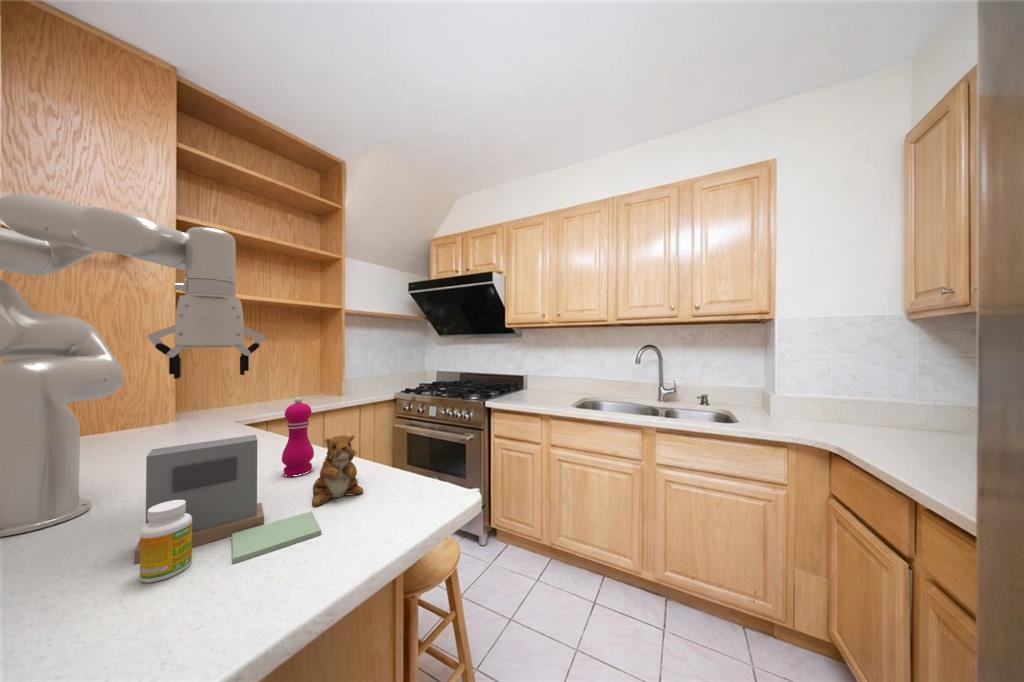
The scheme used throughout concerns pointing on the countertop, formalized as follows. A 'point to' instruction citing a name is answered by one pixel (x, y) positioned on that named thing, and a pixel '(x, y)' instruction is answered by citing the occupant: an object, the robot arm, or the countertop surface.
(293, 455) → the pepper mill
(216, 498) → the panel
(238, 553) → the pad
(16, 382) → the robot arm
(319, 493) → the stuffed squirrel
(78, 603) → the countertop surface
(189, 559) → the supplement bottle
